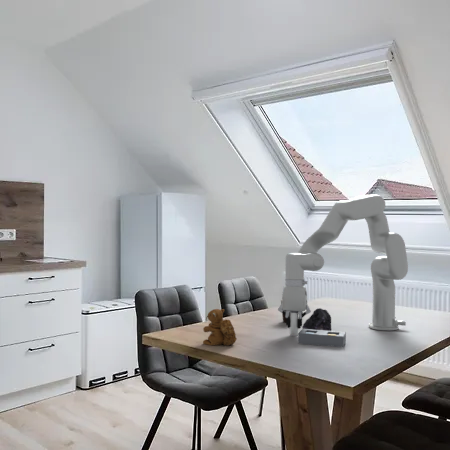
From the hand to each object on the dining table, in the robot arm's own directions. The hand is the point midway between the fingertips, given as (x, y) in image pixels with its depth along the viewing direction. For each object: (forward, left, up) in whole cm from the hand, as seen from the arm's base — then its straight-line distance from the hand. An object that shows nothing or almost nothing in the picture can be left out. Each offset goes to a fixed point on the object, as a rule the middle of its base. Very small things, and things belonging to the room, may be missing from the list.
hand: (294, 327), depth 225 cm
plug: (0, 0, -3) cm, 3 cm away
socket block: (-13, +10, -3) cm, 16 cm away
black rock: (-8, -13, -4) cm, 15 cm away
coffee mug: (+7, -28, -3) cm, 29 cm away
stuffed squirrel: (+23, +25, -4) cm, 34 cm away
